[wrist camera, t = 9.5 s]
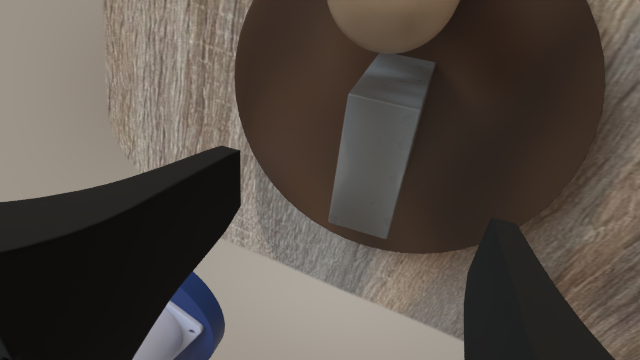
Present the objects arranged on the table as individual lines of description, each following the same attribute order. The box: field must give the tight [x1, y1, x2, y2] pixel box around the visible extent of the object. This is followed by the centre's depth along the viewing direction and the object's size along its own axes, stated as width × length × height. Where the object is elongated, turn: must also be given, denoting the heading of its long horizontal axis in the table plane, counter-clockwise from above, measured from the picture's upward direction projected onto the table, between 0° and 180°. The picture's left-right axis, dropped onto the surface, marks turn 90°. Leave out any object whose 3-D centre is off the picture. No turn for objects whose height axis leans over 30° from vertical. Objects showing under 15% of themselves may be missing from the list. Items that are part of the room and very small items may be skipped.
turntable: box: [235, 0, 605, 254], centre depth 14 cm, size 15×15×10 cm
